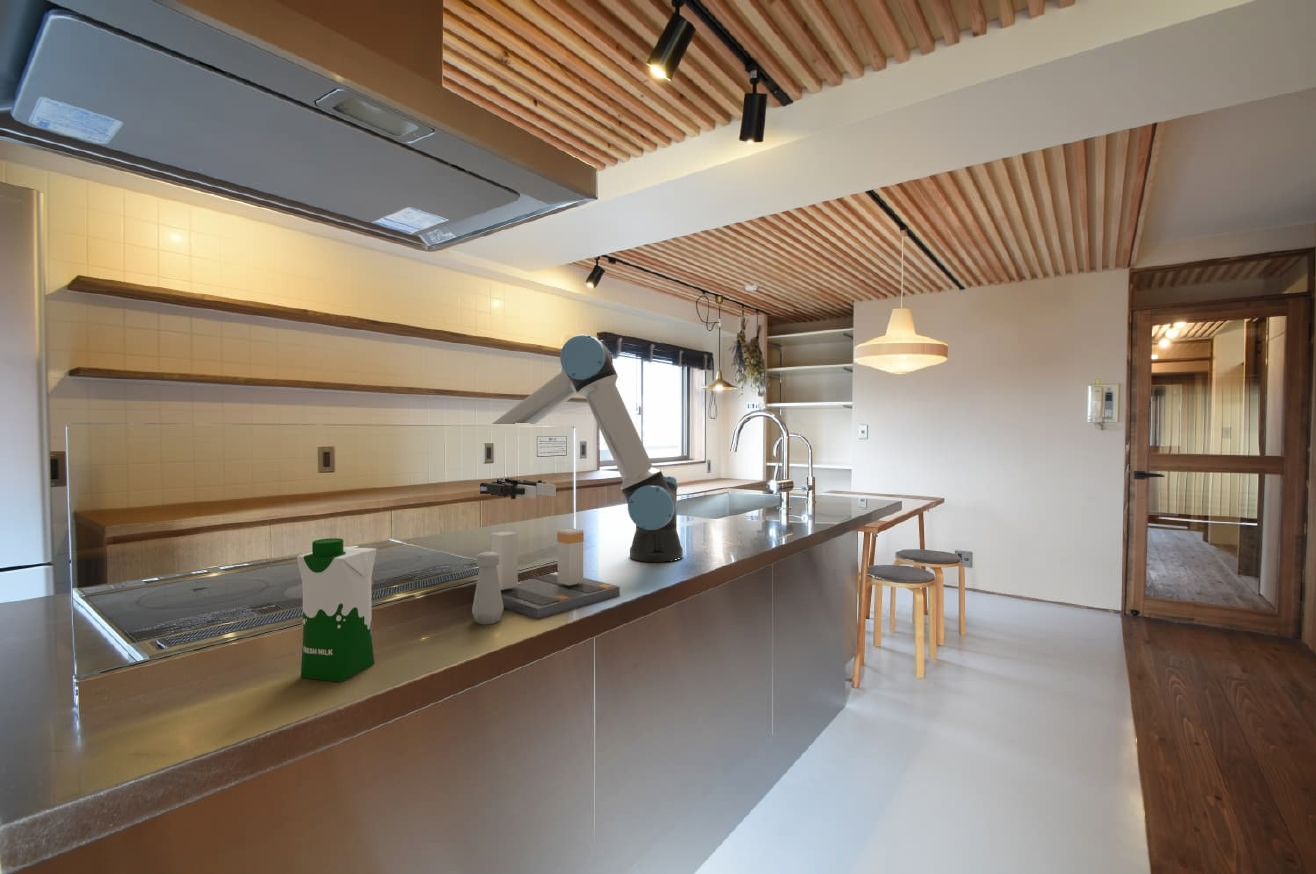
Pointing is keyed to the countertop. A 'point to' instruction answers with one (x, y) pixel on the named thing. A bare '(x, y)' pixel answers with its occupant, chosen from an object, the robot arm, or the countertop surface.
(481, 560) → the salt shaker
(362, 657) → the milk carton
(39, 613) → the countertop surface
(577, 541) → the handle
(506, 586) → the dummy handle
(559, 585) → the panel
